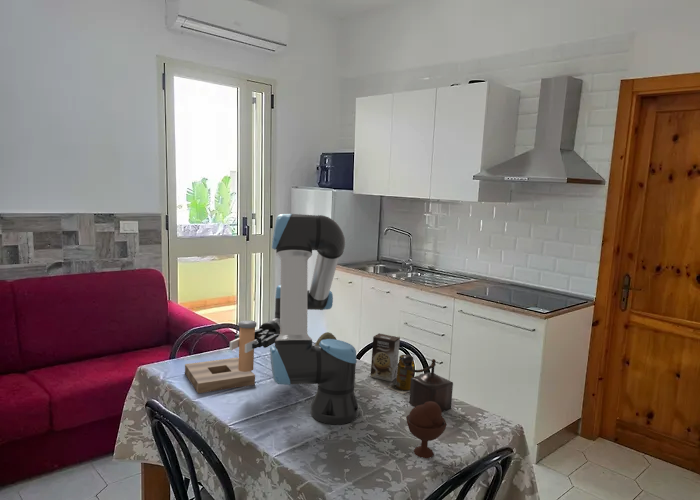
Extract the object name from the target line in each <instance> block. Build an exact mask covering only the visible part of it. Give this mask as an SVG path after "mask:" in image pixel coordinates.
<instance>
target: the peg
mask: <svg viewBox="0 0 700 500" xmlns="http://www.w3.org/2000/svg"><path fill="white" fill-rule="evenodd" d="M237 326H238V328H239V333H238V334H239V347H238V358H239V364H238V370H239V371H242V372H249V371H252V372H253V371H254V367H255V366H254V363H255V349H253V350H251V351H249V352H247V353H245V344H247V343H249V342H251V341H253V340H254V338H255V330H256V328H257V321H253V320H240V321H239V322H238V323H237Z"/></svg>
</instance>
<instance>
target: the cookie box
mask: <svg viewBox="0 0 700 500" xmlns="http://www.w3.org/2000/svg"><path fill="white" fill-rule="evenodd" d="M400 342H401V337H399V336H393V335H389V334H384V333H377V334H375V335H374V336H372V347H371V349H372V351H371V364H370V378H374V379H379V380H384V381H386V382H393V381H395V379H397V367H398V363H399V352H400V351H399V350H400Z"/></svg>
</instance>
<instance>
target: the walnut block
mask: <svg viewBox="0 0 700 500" xmlns="http://www.w3.org/2000/svg"><path fill="white" fill-rule="evenodd" d="M238 364H239V356H238V357H232V358H231V357H230V358H225V359H224V358H223V359H215V360H208V361H199V362H192V363H185V364H184V373H185V375H186V377H187V379H188V381H189V382H190V383H191V384H192V386H193V388H194V389H195V391H196V392H198V393H197V394H202V393H203V394H204V393H210V392H211V393H212V392H216V391H222V390H223V391H224V390H227V389H233V388H234V389H236V388H241V387H247V386H255V384H256V374H255V373H254V372H253V370H252V371H249V372H242V371H239V370H238Z"/></svg>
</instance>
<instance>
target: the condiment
mask: <svg viewBox="0 0 700 500" xmlns="http://www.w3.org/2000/svg"><path fill="white" fill-rule="evenodd" d="M405 355H406V354H400V355H399V356H398V367H397V377H396V384H393V385H389V386H387V388H388V389H390V390H392V391H394V392H397V393H398V394H401V395H404V394H407V393H410V386H411V377H414V373H415V372H412V371H410V370H406V369H405V368H404V367H405V364H404V363H403V362H402V358H403V356H405ZM414 358H415V357H413V362H412V366H413V368H412V369H414V370H415V364H414V361H415V359H414Z"/></svg>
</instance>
